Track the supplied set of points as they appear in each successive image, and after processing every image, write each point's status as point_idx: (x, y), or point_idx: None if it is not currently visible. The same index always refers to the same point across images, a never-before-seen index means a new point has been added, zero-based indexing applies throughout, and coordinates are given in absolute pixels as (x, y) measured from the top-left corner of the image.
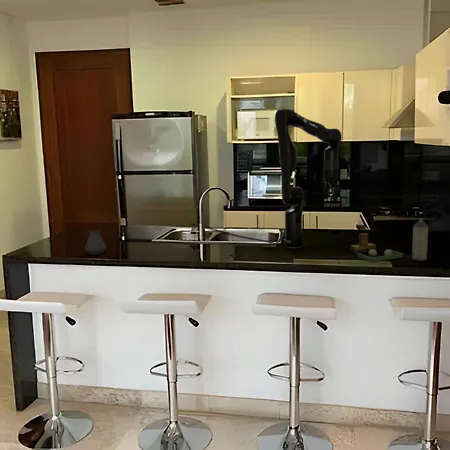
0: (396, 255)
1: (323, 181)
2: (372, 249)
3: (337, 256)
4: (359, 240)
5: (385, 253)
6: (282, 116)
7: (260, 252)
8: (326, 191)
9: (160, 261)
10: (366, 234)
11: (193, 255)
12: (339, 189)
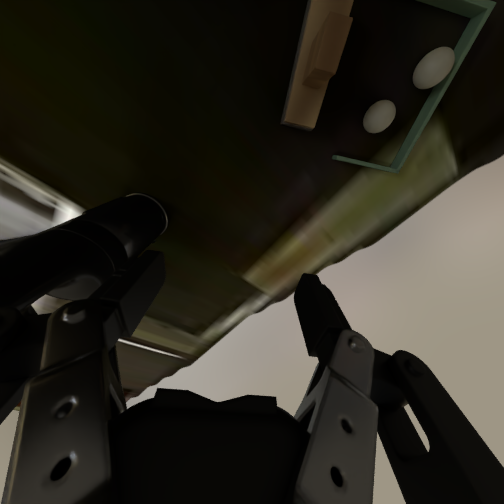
0: (463, 54)
1: None
2: (387, 119)
3: (290, 198)
4: (310, 79)
5: (426, 87)
6: None
7: (165, 290)
8: (114, 323)
9: (160, 378)
10: (347, 35)
11: (143, 353)
12: (443, 416)
